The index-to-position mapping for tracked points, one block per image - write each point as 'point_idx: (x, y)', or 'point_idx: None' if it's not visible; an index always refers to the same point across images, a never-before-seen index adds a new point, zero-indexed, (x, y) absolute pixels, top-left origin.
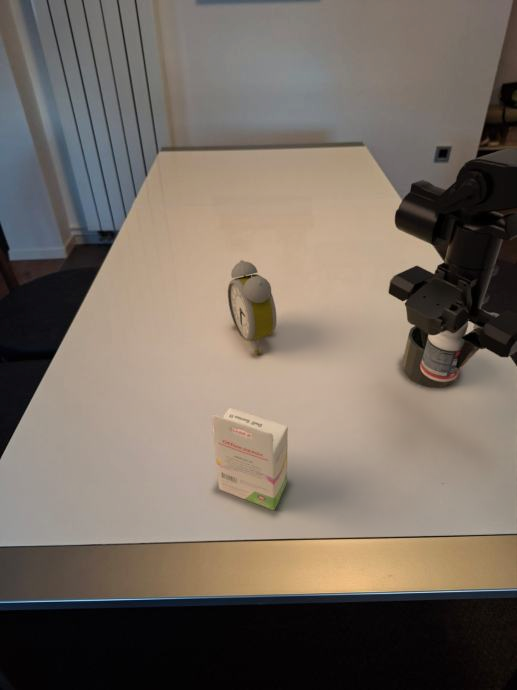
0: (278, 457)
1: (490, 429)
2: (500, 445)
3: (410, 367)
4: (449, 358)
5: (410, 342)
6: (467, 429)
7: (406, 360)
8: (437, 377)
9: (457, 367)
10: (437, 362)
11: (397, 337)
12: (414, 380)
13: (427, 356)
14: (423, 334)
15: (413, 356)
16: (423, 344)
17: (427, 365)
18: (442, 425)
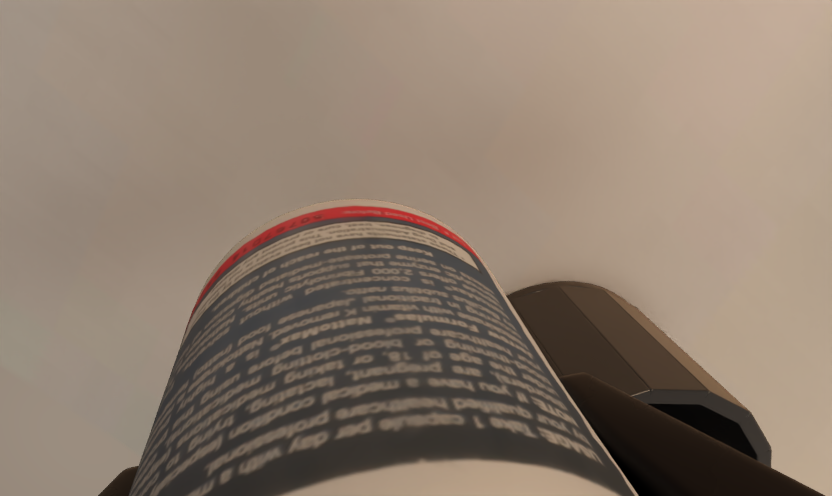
0: None
1: (155, 377)
2: (58, 355)
3: (591, 308)
4: (134, 486)
5: (702, 385)
6: (193, 298)
7: (632, 317)
8: (236, 254)
9: (133, 472)
10: (257, 327)
11: (751, 386)
12: (533, 289)
13: (415, 291)
14: (716, 474)
15: (624, 347)
16: (605, 387)
17: (362, 241)
18: (261, 221)
